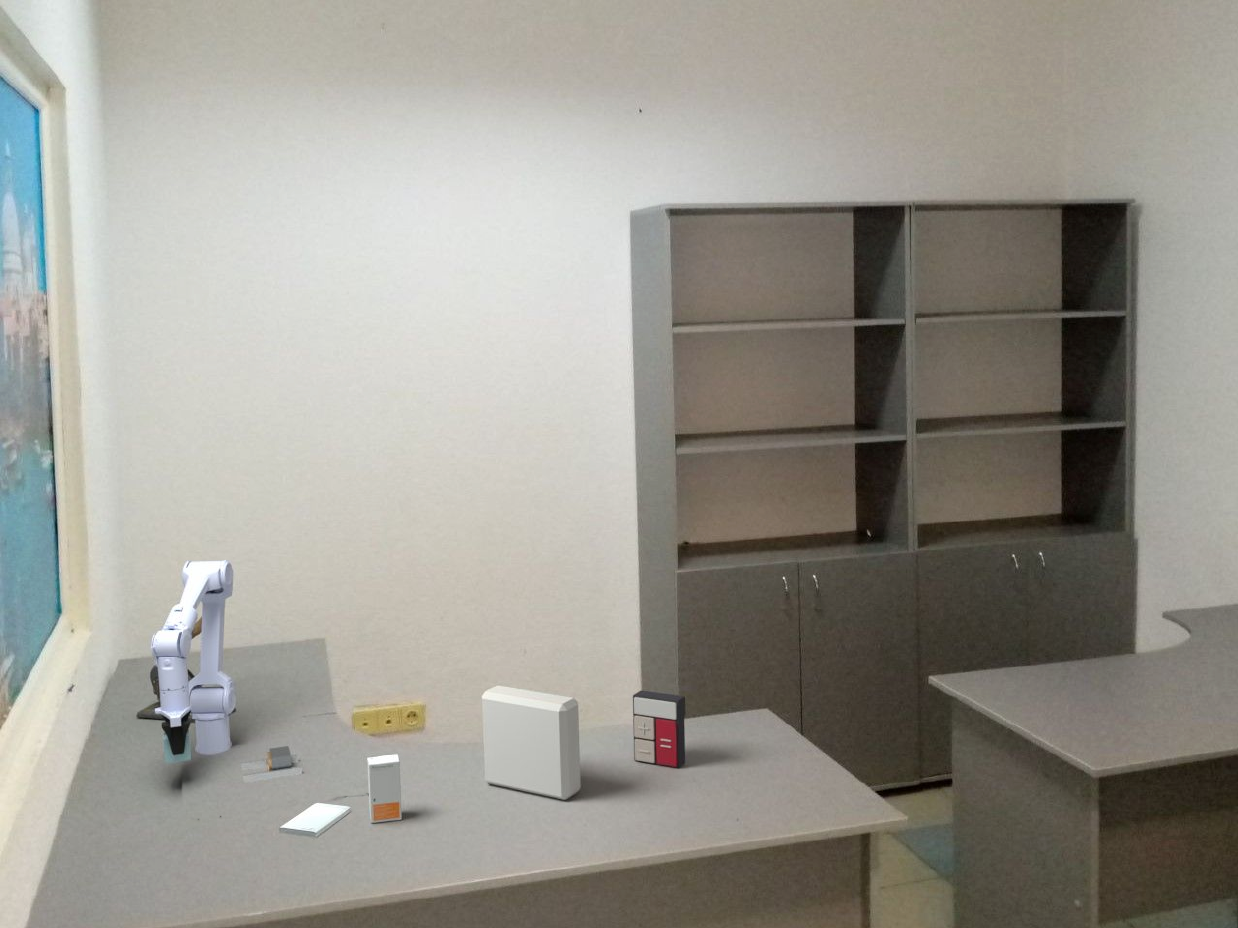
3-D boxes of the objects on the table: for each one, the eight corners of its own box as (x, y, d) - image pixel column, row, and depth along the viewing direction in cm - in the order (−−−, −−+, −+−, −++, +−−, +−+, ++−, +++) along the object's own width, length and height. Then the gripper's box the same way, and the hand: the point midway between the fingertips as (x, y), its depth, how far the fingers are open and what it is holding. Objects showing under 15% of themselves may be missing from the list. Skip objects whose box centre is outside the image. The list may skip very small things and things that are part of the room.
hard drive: (315, 831, 223) (350, 805, 235) (278, 827, 225) (314, 801, 237) (316, 840, 223) (351, 813, 235) (279, 835, 226) (315, 809, 237)
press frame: (192, 778, 254) (191, 766, 254) (297, 762, 262) (296, 751, 261) (193, 798, 243) (192, 786, 243) (303, 781, 251) (302, 769, 250)
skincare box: (371, 824, 228) (367, 764, 227) (369, 815, 232) (366, 756, 231) (402, 820, 230) (400, 760, 228) (400, 811, 234) (398, 753, 232)
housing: (165, 755, 250) (163, 725, 249) (190, 751, 251) (188, 722, 250) (165, 763, 245) (162, 733, 244) (190, 759, 247) (188, 729, 246)
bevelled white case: (587, 789, 243) (584, 695, 240) (565, 803, 236) (562, 706, 234) (504, 772, 253) (500, 681, 251) (481, 785, 247) (477, 691, 244)
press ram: (267, 766, 257) (266, 748, 256) (289, 763, 258) (288, 745, 258) (269, 776, 251) (268, 758, 250) (292, 772, 253) (290, 754, 252)
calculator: (632, 762, 257) (630, 695, 256) (641, 755, 261) (639, 689, 259) (678, 769, 252) (676, 701, 250) (686, 763, 256) (685, 695, 254)
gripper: (154, 679, 252) (158, 740, 253) (152, 698, 238) (157, 763, 240) (189, 675, 254) (193, 736, 256) (189, 694, 241) (194, 758, 242)
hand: (178, 749), depth 248 cm, fingers closed on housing, 5 cm apart
